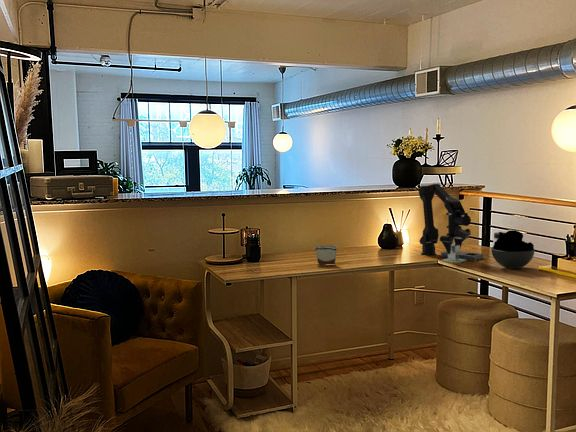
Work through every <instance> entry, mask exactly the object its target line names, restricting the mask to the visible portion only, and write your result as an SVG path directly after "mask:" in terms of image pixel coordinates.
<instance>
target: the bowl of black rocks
mask: <svg viewBox="0 0 576 432" xmlns="http://www.w3.org/2000/svg"><path fill="white" fill-rule="evenodd" d="M498 232H499V236H500V237H499V238H498V239H497V240H496V241H495V242H494V246H493V245H492V247H490V251H491V255H492V258H493V259H494V260H495V262H496V263H497V264H499V265H500V266H501V267H503V268H506V269H510V270H516V269H521V268H523V267H525V266H527V265H528V264H529V263H530V262H531V261H532V260H533V258H534V255H535V251H536V249H535V247H534V246H535V245H534V243H532V242H531V241H530V242H525V241H524V240H523V238H524V234H523V232H521V231H519V230H515V229H511V230H508V231H506V232H505V233H504V234H503V233H502V232H503V231H498Z"/></svg>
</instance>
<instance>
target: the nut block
mask: <svg viewBox="0 0 576 432" xmlns="http://www.w3.org/2000/svg"><path fill="white" fill-rule="evenodd" d="M460 251H461V248H460V245H454V244H451V253H450V254H448V260H452V261H457V260H460Z"/></svg>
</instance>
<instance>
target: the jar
mask: <svg viewBox="0 0 576 432" xmlns="http://www.w3.org/2000/svg"><path fill="white" fill-rule="evenodd" d="M499 232H500V231H498V232H494V233H493V239H492V241H493V242H492V247H493V246H494V242H495V241H496V240H497V239H498V238H499V237H500V236H499ZM501 232H502V233H503V234H504V233H506V232H503V231H501Z"/></svg>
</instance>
